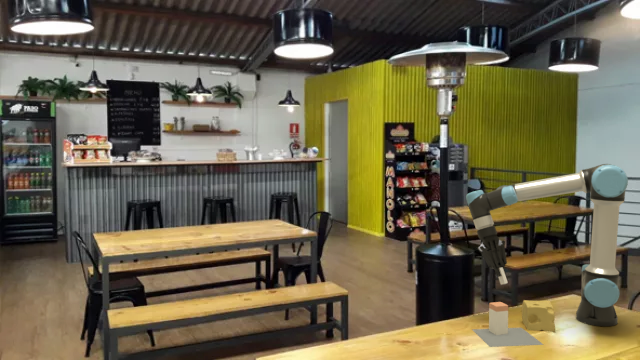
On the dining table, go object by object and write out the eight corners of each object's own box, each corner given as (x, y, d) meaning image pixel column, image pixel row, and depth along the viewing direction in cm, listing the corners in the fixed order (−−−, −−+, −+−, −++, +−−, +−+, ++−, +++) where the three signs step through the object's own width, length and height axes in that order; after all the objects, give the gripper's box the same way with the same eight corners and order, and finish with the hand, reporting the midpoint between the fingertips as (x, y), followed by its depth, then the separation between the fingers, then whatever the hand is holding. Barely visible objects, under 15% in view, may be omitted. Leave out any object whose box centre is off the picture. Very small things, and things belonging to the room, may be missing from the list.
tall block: (500, 329, 208) (500, 301, 208) (507, 333, 203) (508, 305, 203) (488, 330, 207) (489, 302, 206) (496, 335, 202) (496, 306, 202)
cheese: (555, 333, 205) (555, 308, 204) (525, 331, 207) (526, 306, 206) (549, 324, 215) (549, 300, 214) (521, 323, 217) (521, 299, 217)
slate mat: (521, 329, 210) (521, 327, 210) (543, 346, 192) (543, 344, 192) (471, 330, 209) (471, 329, 209) (489, 348, 191) (489, 346, 191)
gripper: (491, 226, 226) (510, 281, 220) (467, 232, 220) (486, 288, 215) (503, 222, 219) (522, 278, 214) (478, 228, 214) (497, 286, 209)
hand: (504, 283), depth 214 cm, fingers closed
